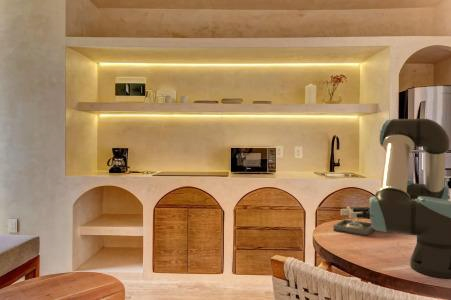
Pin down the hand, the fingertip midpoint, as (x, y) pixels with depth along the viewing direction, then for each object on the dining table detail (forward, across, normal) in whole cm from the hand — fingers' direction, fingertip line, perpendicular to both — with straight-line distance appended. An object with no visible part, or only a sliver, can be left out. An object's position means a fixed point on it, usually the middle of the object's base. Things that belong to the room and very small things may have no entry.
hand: (345, 213), depth 161 cm
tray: (-5, 0, -8) cm, 9 cm away
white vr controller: (-5, 0, -7) cm, 9 cm away
